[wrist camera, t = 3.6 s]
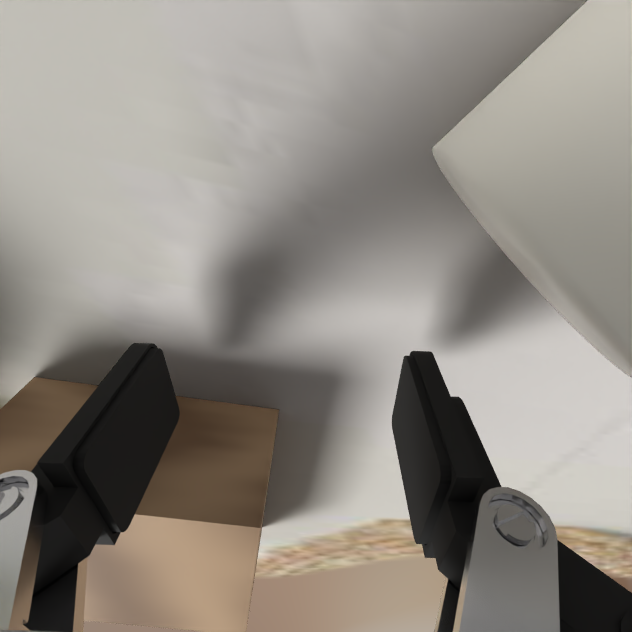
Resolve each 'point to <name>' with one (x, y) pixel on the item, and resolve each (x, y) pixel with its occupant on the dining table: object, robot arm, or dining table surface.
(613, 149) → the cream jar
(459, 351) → the dining table surface
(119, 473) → the robot arm
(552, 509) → the dining table surface
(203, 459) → the tan box
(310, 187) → the dining table surface
